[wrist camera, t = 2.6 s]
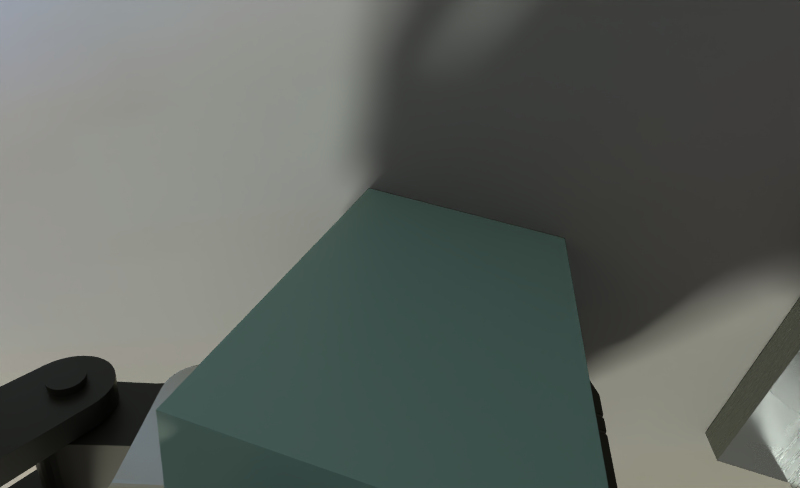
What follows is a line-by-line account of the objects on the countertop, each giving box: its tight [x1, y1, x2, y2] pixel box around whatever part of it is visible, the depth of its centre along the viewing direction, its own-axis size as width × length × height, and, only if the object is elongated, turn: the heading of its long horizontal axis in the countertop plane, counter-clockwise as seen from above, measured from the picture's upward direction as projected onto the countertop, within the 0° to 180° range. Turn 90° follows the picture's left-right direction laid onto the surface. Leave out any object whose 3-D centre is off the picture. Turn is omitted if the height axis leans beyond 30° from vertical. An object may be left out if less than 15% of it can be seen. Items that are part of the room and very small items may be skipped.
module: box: [156, 188, 608, 488], centre depth 9 cm, size 6×4×7 cm
